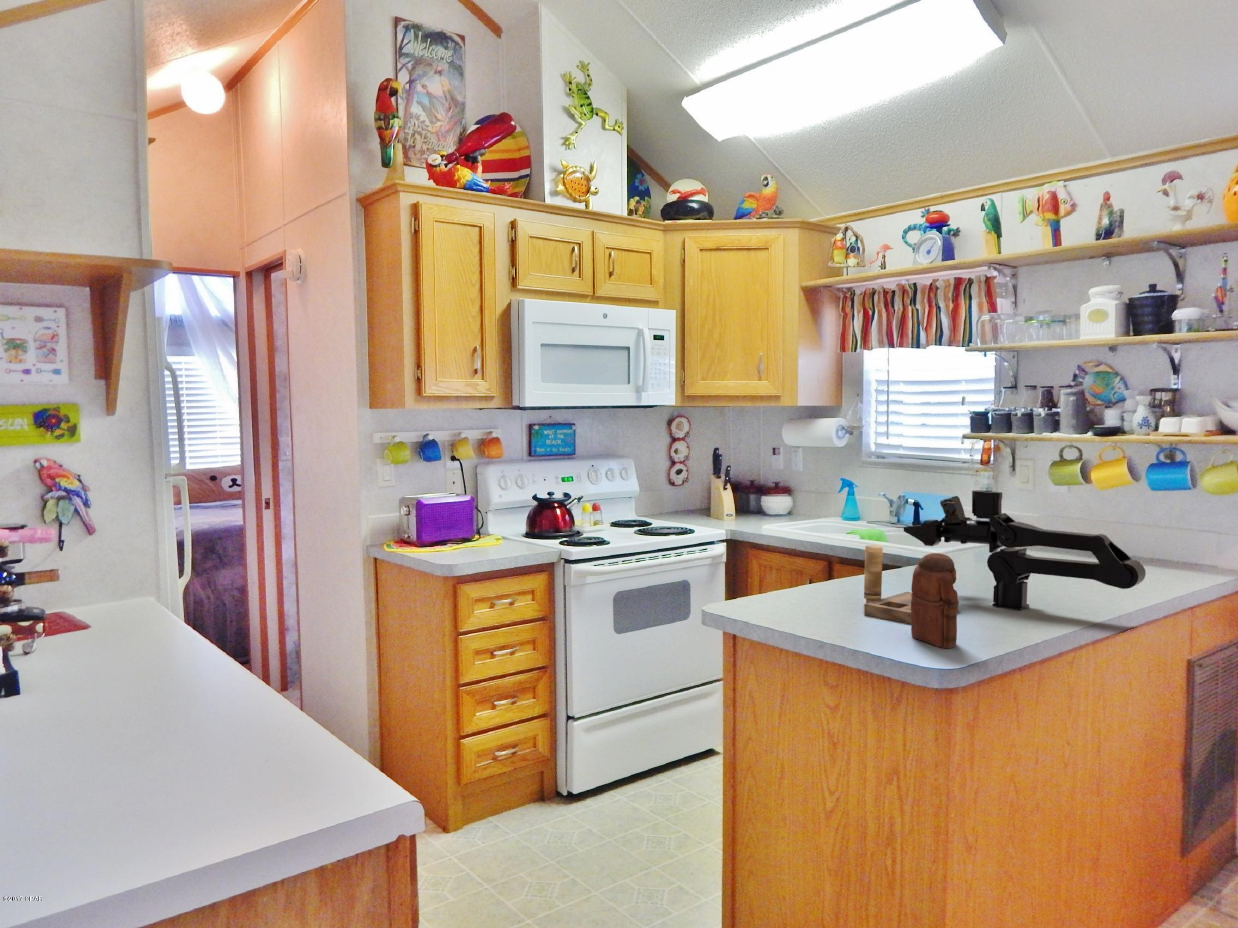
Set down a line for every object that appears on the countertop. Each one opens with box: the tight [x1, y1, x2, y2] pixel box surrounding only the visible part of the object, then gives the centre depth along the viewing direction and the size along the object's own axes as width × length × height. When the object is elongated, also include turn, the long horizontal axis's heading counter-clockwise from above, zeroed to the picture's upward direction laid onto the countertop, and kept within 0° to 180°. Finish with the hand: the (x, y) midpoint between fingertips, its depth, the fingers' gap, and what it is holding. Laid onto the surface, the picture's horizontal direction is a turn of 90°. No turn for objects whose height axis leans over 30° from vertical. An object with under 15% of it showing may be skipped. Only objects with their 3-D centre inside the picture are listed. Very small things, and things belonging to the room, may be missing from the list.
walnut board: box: [863, 591, 960, 625], centre depth 200 cm, size 13×20×2 cm, turn 134°
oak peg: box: [863, 545, 884, 604], centre depth 208 cm, size 4×4×14 cm
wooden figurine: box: [910, 552, 959, 649], centre depth 174 cm, size 12×6×18 cm, turn 21°
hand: (911, 527), depth 224 cm, fingers open, 9 cm apart
